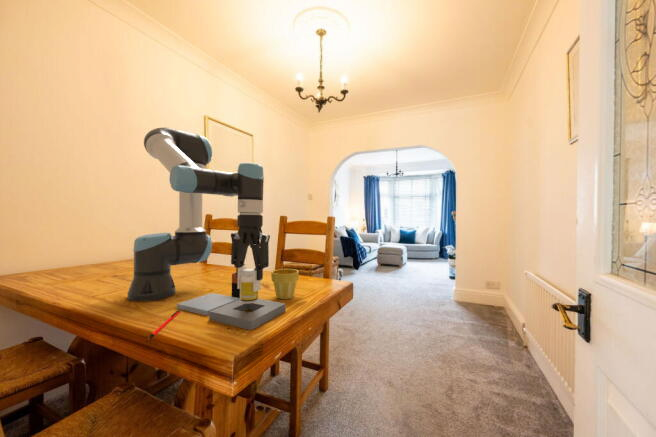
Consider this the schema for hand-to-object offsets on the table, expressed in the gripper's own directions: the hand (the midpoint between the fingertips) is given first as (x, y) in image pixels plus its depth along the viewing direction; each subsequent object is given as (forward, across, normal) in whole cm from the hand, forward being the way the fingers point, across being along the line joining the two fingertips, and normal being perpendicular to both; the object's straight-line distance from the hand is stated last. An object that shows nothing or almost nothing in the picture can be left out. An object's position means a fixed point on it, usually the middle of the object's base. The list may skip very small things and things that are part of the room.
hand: (249, 288), depth 81 cm
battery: (+9, -16, +14) cm, 23 cm away
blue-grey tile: (+8, -18, +1) cm, 20 cm away
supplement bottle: (+4, 0, 0) cm, 4 cm away
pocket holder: (+8, 0, 0) cm, 8 cm away
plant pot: (+9, -1, +21) cm, 23 cm away
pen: (+9, -16, -15) cm, 24 cm away
